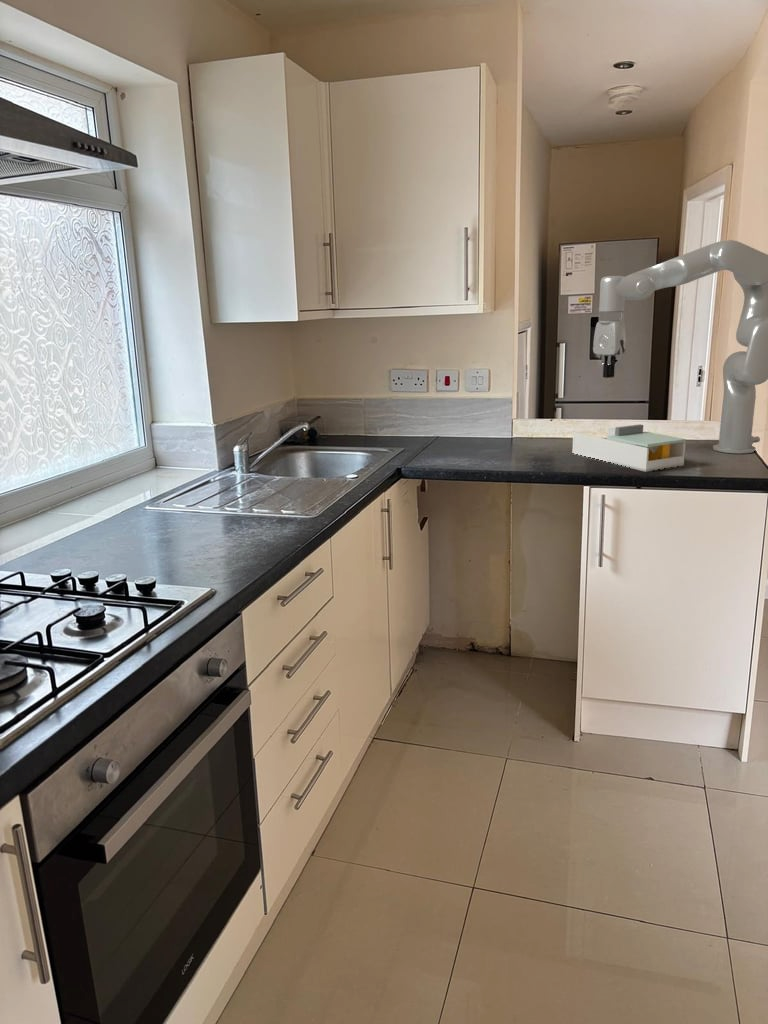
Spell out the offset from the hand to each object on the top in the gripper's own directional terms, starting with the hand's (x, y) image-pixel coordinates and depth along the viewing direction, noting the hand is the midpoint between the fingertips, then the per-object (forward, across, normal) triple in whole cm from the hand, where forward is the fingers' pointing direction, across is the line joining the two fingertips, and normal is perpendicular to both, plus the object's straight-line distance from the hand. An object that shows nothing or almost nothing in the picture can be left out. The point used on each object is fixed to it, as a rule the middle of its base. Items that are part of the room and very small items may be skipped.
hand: (608, 377), depth 247 cm
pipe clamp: (+24, +18, +1) cm, 30 cm away
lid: (+17, +18, 0) cm, 25 cm away
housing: (+25, +10, 0) cm, 27 cm away
